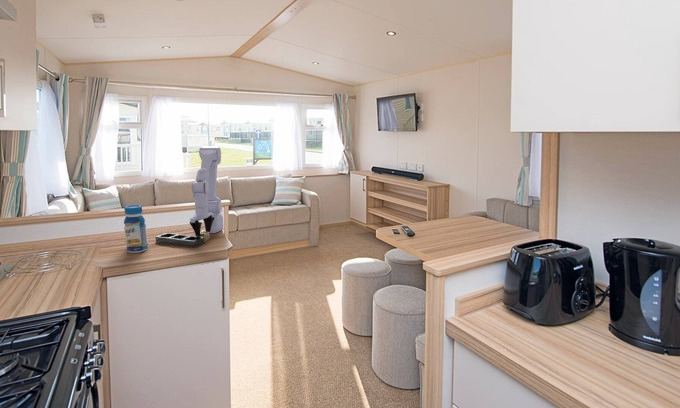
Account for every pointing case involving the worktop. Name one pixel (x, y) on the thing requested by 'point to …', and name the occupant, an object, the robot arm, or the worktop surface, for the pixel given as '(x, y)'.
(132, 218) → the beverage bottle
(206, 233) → the wooden knob block
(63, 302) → the worktop surface
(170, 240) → the cabinet frame
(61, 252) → the worktop surface
